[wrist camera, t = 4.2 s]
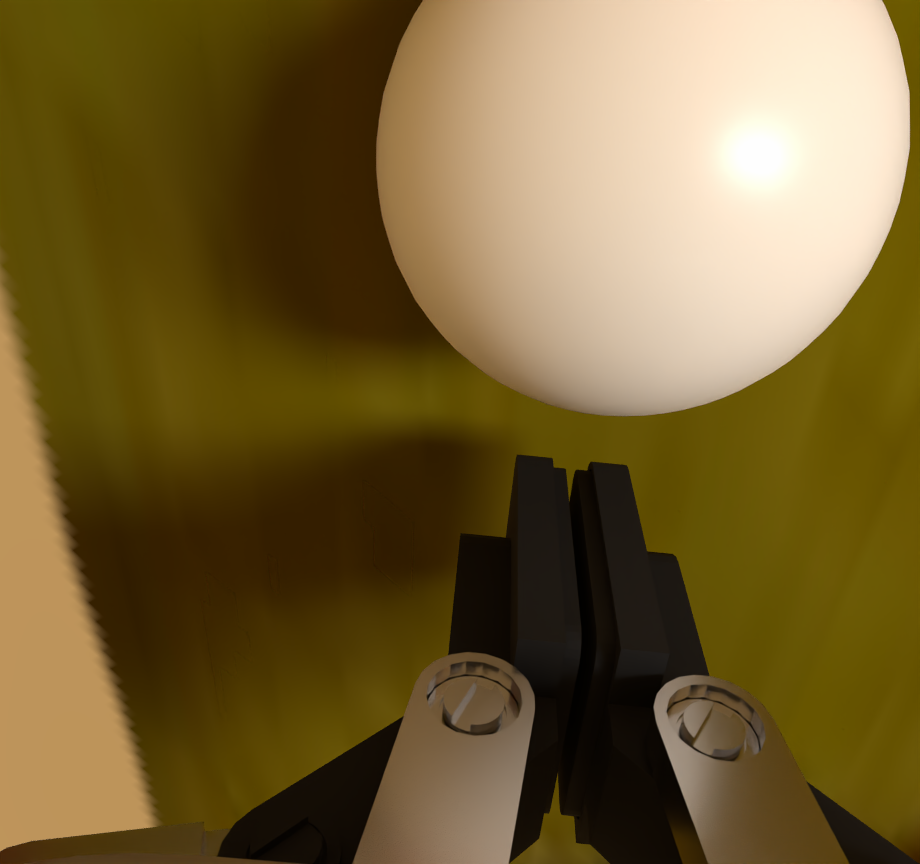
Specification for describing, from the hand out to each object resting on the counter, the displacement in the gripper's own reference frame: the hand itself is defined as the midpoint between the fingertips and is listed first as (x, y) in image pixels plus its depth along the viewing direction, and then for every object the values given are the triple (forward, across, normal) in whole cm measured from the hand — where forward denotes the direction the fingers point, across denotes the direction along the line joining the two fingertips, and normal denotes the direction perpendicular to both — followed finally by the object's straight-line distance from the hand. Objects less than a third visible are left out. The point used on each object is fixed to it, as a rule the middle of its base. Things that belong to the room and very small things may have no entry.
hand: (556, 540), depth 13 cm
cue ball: (-1, 0, -6) cm, 6 cm away
